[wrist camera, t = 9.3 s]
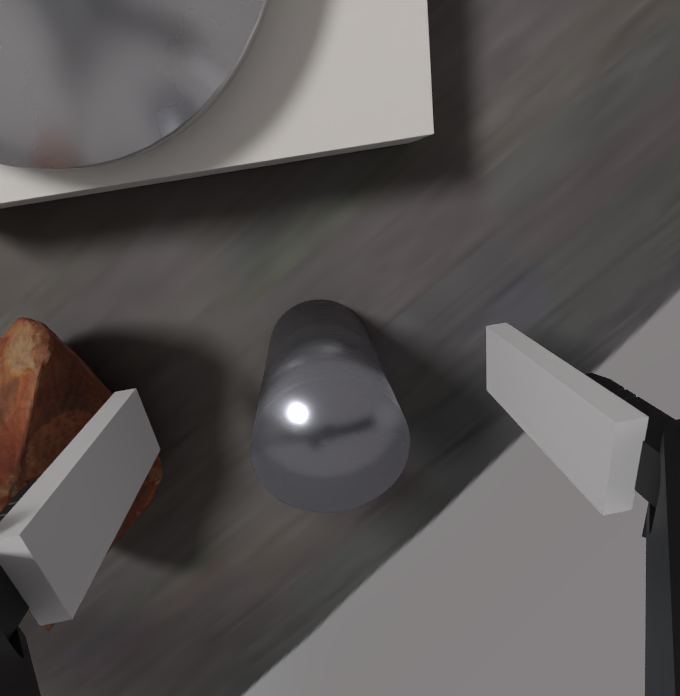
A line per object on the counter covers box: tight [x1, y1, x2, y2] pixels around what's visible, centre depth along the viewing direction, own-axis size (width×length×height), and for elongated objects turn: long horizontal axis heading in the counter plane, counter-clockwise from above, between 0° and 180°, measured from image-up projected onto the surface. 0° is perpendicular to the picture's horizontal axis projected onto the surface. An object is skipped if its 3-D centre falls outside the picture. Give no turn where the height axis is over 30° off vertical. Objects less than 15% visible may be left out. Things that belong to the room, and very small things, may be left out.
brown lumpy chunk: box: [0, 317, 162, 630], centre depth 16 cm, size 13×8×10 cm
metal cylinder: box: [250, 300, 410, 513], centre depth 15 cm, size 5×5×8 cm
